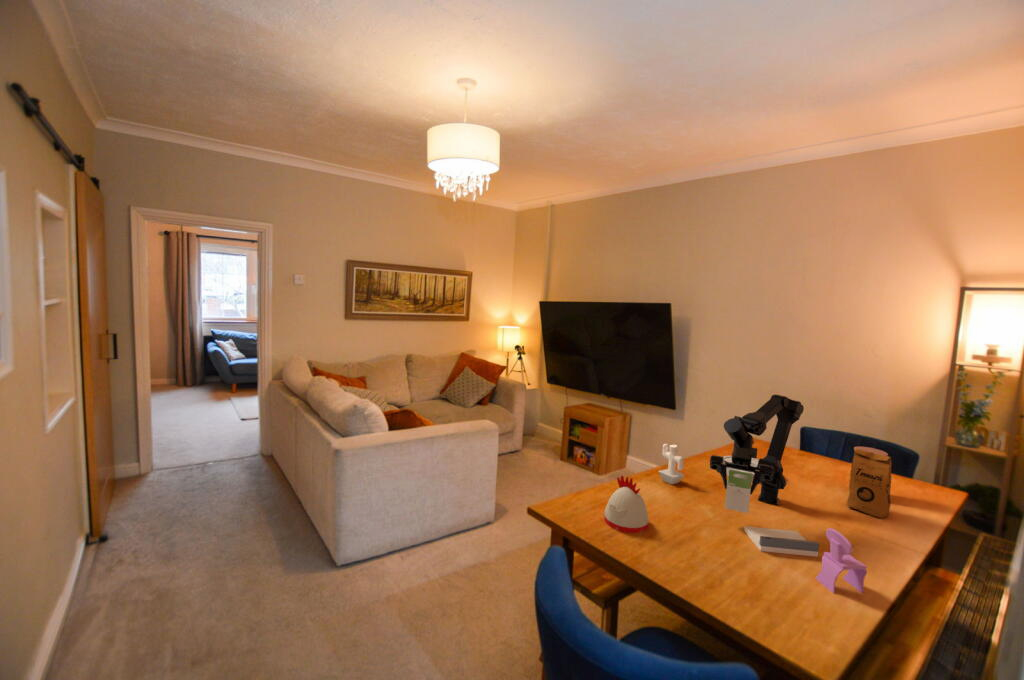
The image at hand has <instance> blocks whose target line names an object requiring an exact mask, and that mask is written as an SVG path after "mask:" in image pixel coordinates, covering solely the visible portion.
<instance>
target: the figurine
mask: <svg viewBox="0 0 1024 680" xmlns="http://www.w3.org/2000/svg"><path fill="white" fill-rule="evenodd" d="M678 452H679V451H678V445H677V444H670V445H669V444H668V443H663V445H662V454H661V455H662V456H663V458H664V459H667V460H668V466H667V468H665V469H662V470H658V474H659V476H660V478H661V480H662V482H665V483H667V484H670V485H675V484H679V483H680V482H681V480H682V479H683V477H684V476H685V475H686V474H684V473H682V472H679V471H683V469H684V463H685V462H684V458H683V456H680V455H678ZM676 466H677V467H676ZM676 468H677V470H676Z"/></svg>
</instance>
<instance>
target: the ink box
mask: <svg viewBox="0 0 1024 680" xmlns="http://www.w3.org/2000/svg"><path fill="white" fill-rule="evenodd" d="M734 474H741V475H744V476H746V477H747V478H740V477H734ZM751 481H752V473H746V472H740V471H734V470H729V476H727V489H725V499H724V509H725V510H729V511H736V512H739V513H744V514H749V513H750V512H749V511H750V510H749V509H750V502H751V501H750V499H751V495H750V492H751V486H752V483H751Z"/></svg>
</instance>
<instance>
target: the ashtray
mask: <svg viewBox="0 0 1024 680" xmlns="http://www.w3.org/2000/svg"><path fill="white" fill-rule="evenodd" d="M722 457H723V460H725V461H727V462H732V455H724V456H722ZM758 461H759V459H758V458H756V459H755V458H752V460H751V466H753V467H757V465H758ZM729 470H734V471H740V472H746V473H752V481H751V484H752V482H753V478H754V474H755V473H753V472H748V471H743V470H737V469H732V468H727V477H728V476H729ZM734 477H740V478H747V477H746V476H744V475H741V474H734ZM759 484H762V483H760V482H759ZM759 484H758V485H759Z"/></svg>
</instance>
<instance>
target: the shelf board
mask: <svg viewBox="0 0 1024 680" xmlns="http://www.w3.org/2000/svg"><path fill="white" fill-rule="evenodd" d="M743 531H744V532H745V533H746V534H747V536H748V537H749V538H750V539H749V540H751V541H752V542H753V544H754V545H755V546H756V547H757V548H758V550H759V551H760V552H766V553H778V554H787V555H794V556H795V555H796V556H797V555H798V556H804V557H805V556H807V557H816V558H817V557H818V556H819V550H820V549H819V548H820V543H819V541H814V540H806V538H805V537H804V536H802V534H800V532H798V531H797V530H788V529H787V530H786V529H776V528H767V527H757V526H756V527H755V526H747V525H745V526H744V530H743Z"/></svg>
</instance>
